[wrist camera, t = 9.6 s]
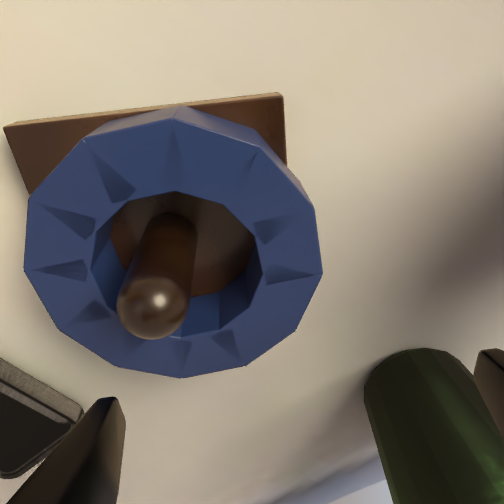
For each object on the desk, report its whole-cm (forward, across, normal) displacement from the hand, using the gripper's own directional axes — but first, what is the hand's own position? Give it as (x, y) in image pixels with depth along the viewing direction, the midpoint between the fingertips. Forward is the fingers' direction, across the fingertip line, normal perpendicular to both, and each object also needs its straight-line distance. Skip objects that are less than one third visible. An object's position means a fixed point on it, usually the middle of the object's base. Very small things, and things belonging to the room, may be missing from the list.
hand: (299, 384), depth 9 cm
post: (+10, +4, 0) cm, 11 cm away
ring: (+9, +4, 0) cm, 10 cm away
